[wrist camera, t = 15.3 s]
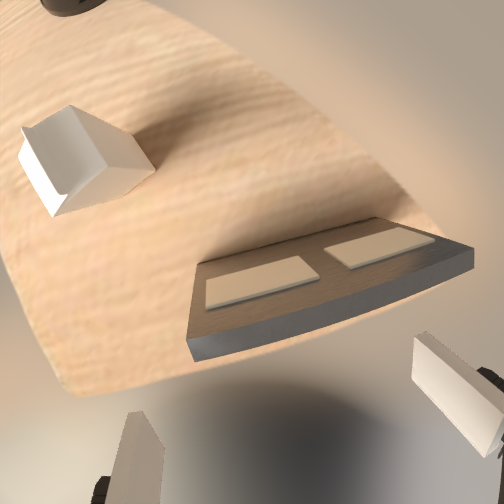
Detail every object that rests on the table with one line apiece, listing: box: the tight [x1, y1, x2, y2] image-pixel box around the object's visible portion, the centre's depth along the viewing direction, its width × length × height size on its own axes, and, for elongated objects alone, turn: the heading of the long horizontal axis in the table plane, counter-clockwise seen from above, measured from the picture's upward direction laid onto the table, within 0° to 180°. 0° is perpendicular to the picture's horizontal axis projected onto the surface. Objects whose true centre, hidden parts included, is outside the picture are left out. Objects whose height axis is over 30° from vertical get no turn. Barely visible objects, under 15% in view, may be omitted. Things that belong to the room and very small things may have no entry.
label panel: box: [186, 217, 474, 362], centre depth 33 cm, size 8×26×20 cm, turn 103°
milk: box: [18, 105, 156, 217], centre depth 26 cm, size 6×6×22 cm
